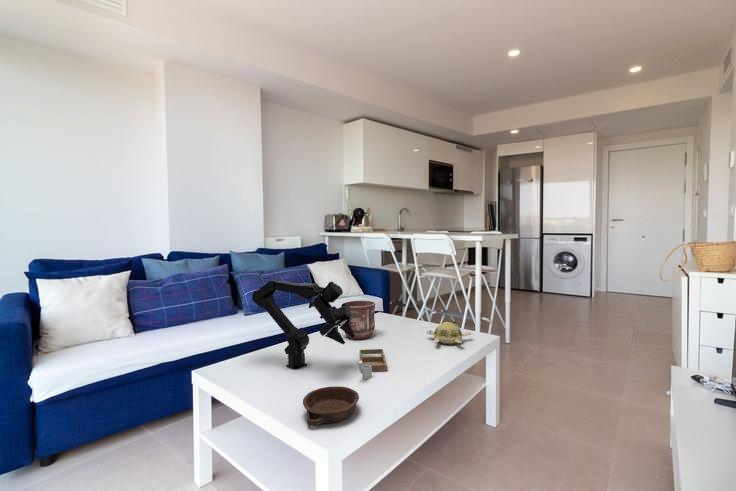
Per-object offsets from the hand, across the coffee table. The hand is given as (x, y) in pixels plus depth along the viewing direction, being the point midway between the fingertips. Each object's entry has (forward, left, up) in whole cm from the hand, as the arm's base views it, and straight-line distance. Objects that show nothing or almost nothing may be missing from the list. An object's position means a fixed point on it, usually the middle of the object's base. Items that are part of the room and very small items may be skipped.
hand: (349, 340), depth 147 cm
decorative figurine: (+58, -13, -14) cm, 61 cm away
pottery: (+41, +29, -13) cm, 52 cm away
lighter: (-1, -8, -13) cm, 16 cm away
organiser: (+14, 0, -13) cm, 19 cm away
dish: (-27, -16, -14) cm, 34 cm away
